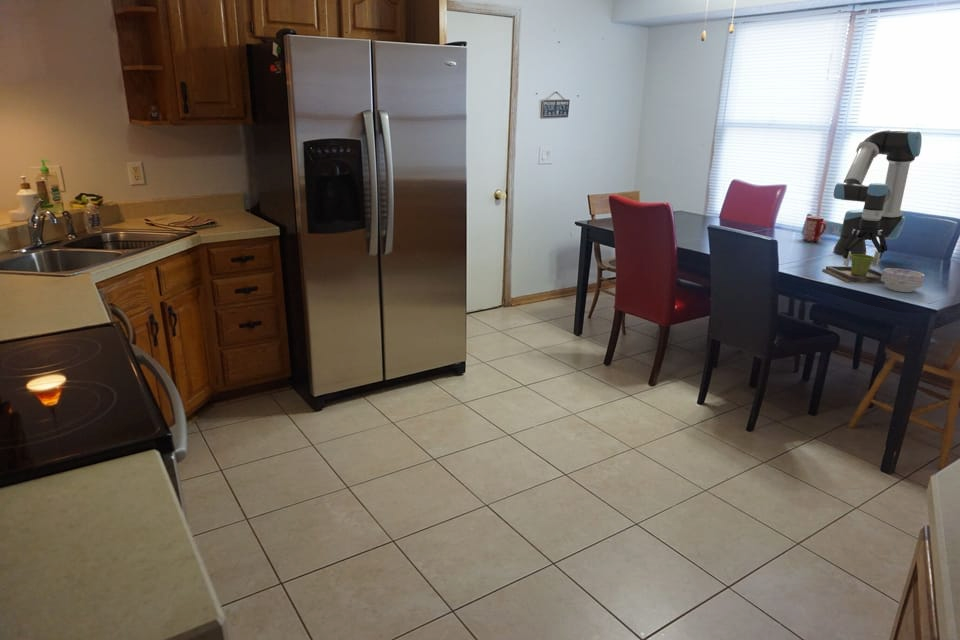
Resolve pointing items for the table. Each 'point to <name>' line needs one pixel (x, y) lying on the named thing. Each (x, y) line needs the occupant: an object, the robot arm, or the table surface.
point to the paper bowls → (902, 279)
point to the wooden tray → (846, 275)
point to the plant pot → (860, 264)
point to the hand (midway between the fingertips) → (860, 265)
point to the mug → (814, 228)
